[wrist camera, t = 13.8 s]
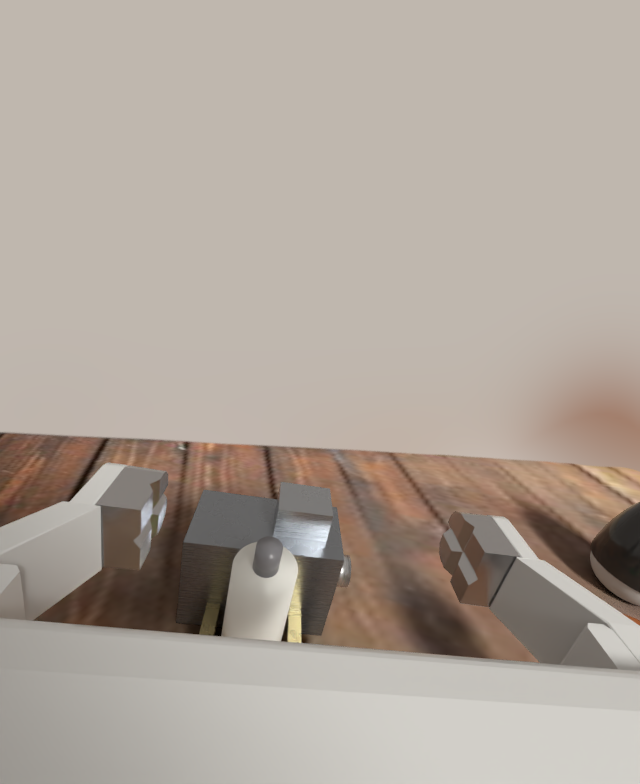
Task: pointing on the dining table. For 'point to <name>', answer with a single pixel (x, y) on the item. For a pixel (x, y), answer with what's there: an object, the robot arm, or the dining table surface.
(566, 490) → the dining table surface
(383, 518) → the dining table surface
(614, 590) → the dark grey egg shape
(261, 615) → the white bottle
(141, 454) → the dining table surface
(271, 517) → the motor
